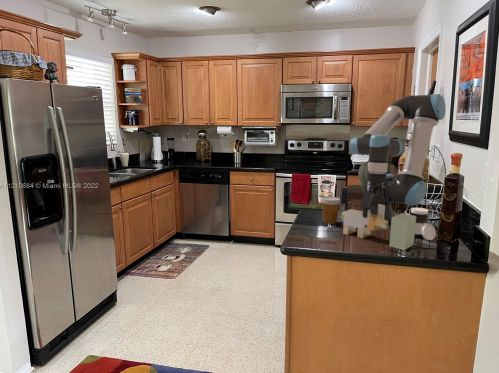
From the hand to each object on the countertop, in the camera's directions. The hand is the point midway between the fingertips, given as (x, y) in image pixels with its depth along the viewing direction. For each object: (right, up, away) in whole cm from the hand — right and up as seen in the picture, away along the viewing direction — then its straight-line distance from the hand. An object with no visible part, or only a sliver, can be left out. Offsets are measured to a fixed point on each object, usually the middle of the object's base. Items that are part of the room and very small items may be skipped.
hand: (373, 222), depth 153 cm
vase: (+24, +5, +67) cm, 72 cm away
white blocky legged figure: (-5, -6, +7) cm, 10 cm away
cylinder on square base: (-3, -2, +4) cm, 5 cm away
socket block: (+9, -9, -7) cm, 14 cm away
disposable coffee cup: (-13, -3, +26) cm, 29 cm away
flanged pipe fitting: (+22, -7, +5) cm, 24 cm away
